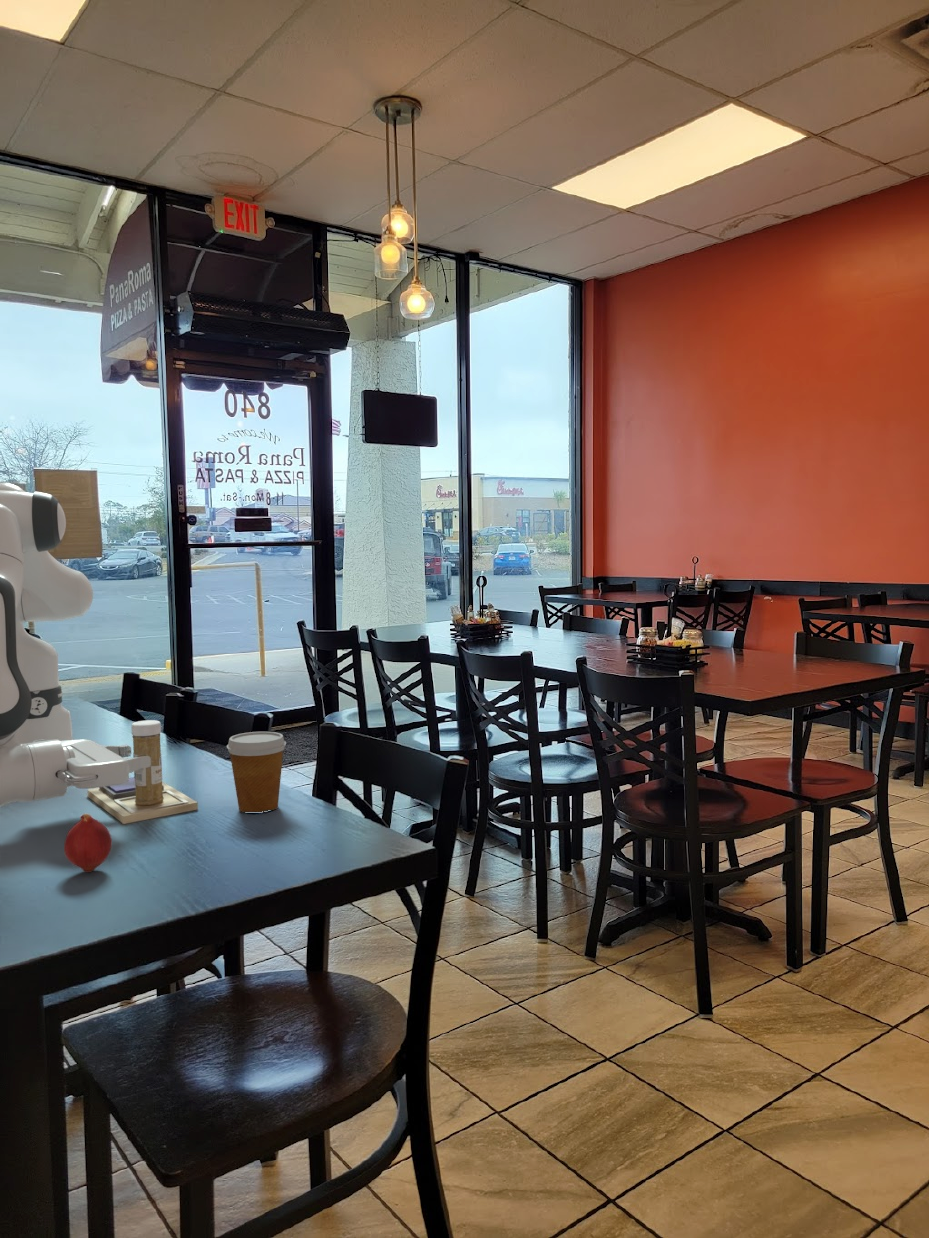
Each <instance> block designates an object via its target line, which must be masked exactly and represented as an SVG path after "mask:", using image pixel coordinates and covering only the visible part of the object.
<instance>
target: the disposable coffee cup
mask: <svg viewBox="0 0 929 1238" xmlns="http://www.w3.org/2000/svg"><path fill="white" fill-rule="evenodd" d="M286 745H287V741H285V739H284V735H283V734H282V733H280V732H275V731H252V732H251V731H250V732H244V733H238V734H235V735H232V736H230V737H229V739H228V744H227V745H226V749H227V750H228V753H229V756H230V761H231V769H232V774H233V781H234V788H235V792H236V799H237V805H238V806H237V807H238V811H239V810H240V811H242V812H262V811H263V812H264V811H268V810H274V809H276V808H277V807H279V799H280V798H279V797H280V789H281V777H282V766H283V755H284V750H285V747H286ZM277 809H278V808H277ZM277 809H276V810H277ZM240 811H239V812H240ZM274 811H275V810H274ZM242 812H241V813H242Z"/></svg>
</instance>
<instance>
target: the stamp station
mask: <svg viewBox="0 0 929 1238" xmlns="http://www.w3.org/2000/svg"><path fill="white" fill-rule="evenodd" d="M162 790H163V797H164V799H163V801H162V802H160V803H157V804H154V805H138V804H136V803H135V799H136V791H135V780H134V776H133V777H129V781H128V782H126V783H123V784H120V785H113V786H105V787H97V788H87V790H86V792H87V793H86V794H87V797H88V798H89V799H90V800H91V801H93V802H94V803H95V804H97V805H98V806H99V807H101V808H102V809H103V810H105V811H106V812H107V813H109V814H110V815H111V816H112V817H114V818H115V819H116V820H118V821H119V822H120V823H122V825H125V824H131V823H136V822H141V821H145V820H150V819H156V818H157V819H158V818H160V817H161V818H162V817H167V816H171V815H176V814H181V813H187V812H192V811H197V810H198V809H199V805H198V804H199V803H198V801H196V800H195V799H193V798H191V797H189V796H187V795H186V794H184V793H183V792H181V791H179V790H177V789H176V788H175V787H173V786H171V785H168V784H167V783H166V782H163V781H162Z"/></svg>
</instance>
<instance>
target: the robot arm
mask: <svg viewBox="0 0 929 1238" xmlns="http://www.w3.org/2000/svg"><path fill="white" fill-rule="evenodd" d="M66 526H67V519H66V513H65V512H64V509H63V507H62V505H61V504H60V500H59V499H57V498H56V497H55V496H54V495H53V494H50V493H46V492H41V491H35V490H34V491H33V492H28V491H27V492H26V491H25V490H24V489H23V488H21V487H20V486H18V485H15V484H13V483H9V482H7V483H6V482H0V807H3V806H5V805H8V804H10V803H14V802H25V803H29V802H35V801H41V800H46V799H47V800H48V799H52V798H53V799H54V798H59V797H63V796H65V795H66V793H67V788H69V787H75V788H77V789H80V790H81V789H82V790H83V789H84V790H85V789H87V790H88V789H94V788H99V787H105V786H113V785H120V784H123V783H126V782H128V781H129V778H130V774H131V773H134V771H136V770H138V769H141V768H147V767H150V765H151V758H150V757H149V756H147V755H139V756H136V757H134V758H133V757H131V756H132V746H129V745H127V744H121V745H107V744H106V745H101V744H99V743H97V742H95V741H94V740H92V739H74V736H73V735H74V734H73V727H72V726H73V725H72V716H71V711H70V710H68V709H67V708H66V707H64V706H63V705H62V702H63V691H62V686H61V685H60V677H59V674H60V673H59V658H58V652H57V649H55V647H54V646H53V645H52V644H51V643H49V642H47V641H45V640H43V639H41V638H38V637H35V636H33V635H31V634H29V633H28V632H27V631H26V628H25V626H24V623H30V622H33V623H35V622H58V621H59V622H60V621H65V620H66V621H67V620H70V619H74V618H79V617H83V616H84V615H85V614H86V613H87V612H88V611H89V609H90V607H91V605H92V603H93V599H94V592H93V586H92V584H91V582H90V580H89V578H88V577H87V576H86V575H85V573H83V572H82V571H79V570H77V569H74V568H71V567H68V566H67V565H65V564H63V563H62V562H60V561H59V560H57V559H56V558H55V557H54V556H53V555H52V554H51V553H50V552H49V551H51V550H55V549H56V548H57V547H58V546H60V544H61V543H62V542H63V537H64V535H65V532H66V529H67V527H66ZM128 757H131V758H128Z"/></svg>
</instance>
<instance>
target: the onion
mask: <svg viewBox="0 0 929 1238" xmlns="http://www.w3.org/2000/svg"><path fill="white" fill-rule="evenodd" d="M79 818H80V821H78V822H77V823H76V824H74V825H73V826H72V827H71V829H70V830H69V831H68V833H67V835H66V837H65V841H64V844H63V845H64V847H63V850H64V854H65V857H66V858H67V860H68V861H69V862H70V863H71V864H73V865H74V866H76V867H78V868H79V869H81V870H82V871H84V872H86V873H91V872H92V871H94V870H96V869H97V868H98V867H99V866H100V865H101V864H103V863H104V862H105V860H106V859H107V857H108V856H109V854H110V853H111V848H112V840H113V839H112V835H111V834H110V831H109V830H108V828H107V827H106V826H105V825H104V824H102V822H100V820H97V819H95V818H93V817H92V816H91V815H90V814H89V813H83V814H82V815H81V816H80V817H79Z"/></svg>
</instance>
